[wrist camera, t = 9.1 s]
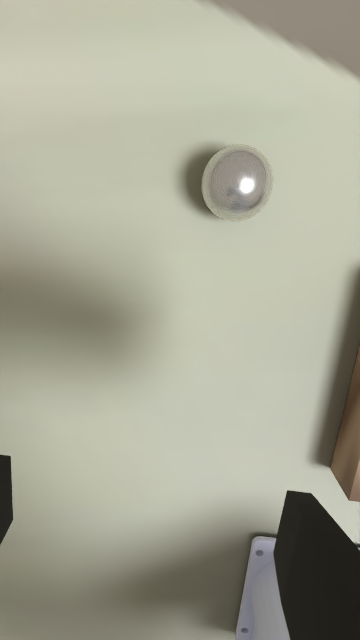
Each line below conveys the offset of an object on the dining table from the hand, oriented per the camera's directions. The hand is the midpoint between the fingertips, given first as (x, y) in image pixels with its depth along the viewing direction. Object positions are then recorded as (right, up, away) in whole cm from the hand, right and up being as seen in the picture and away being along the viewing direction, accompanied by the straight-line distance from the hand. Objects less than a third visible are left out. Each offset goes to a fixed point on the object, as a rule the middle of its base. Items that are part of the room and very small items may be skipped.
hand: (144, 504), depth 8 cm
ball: (+4, +11, +6) cm, 13 cm away
